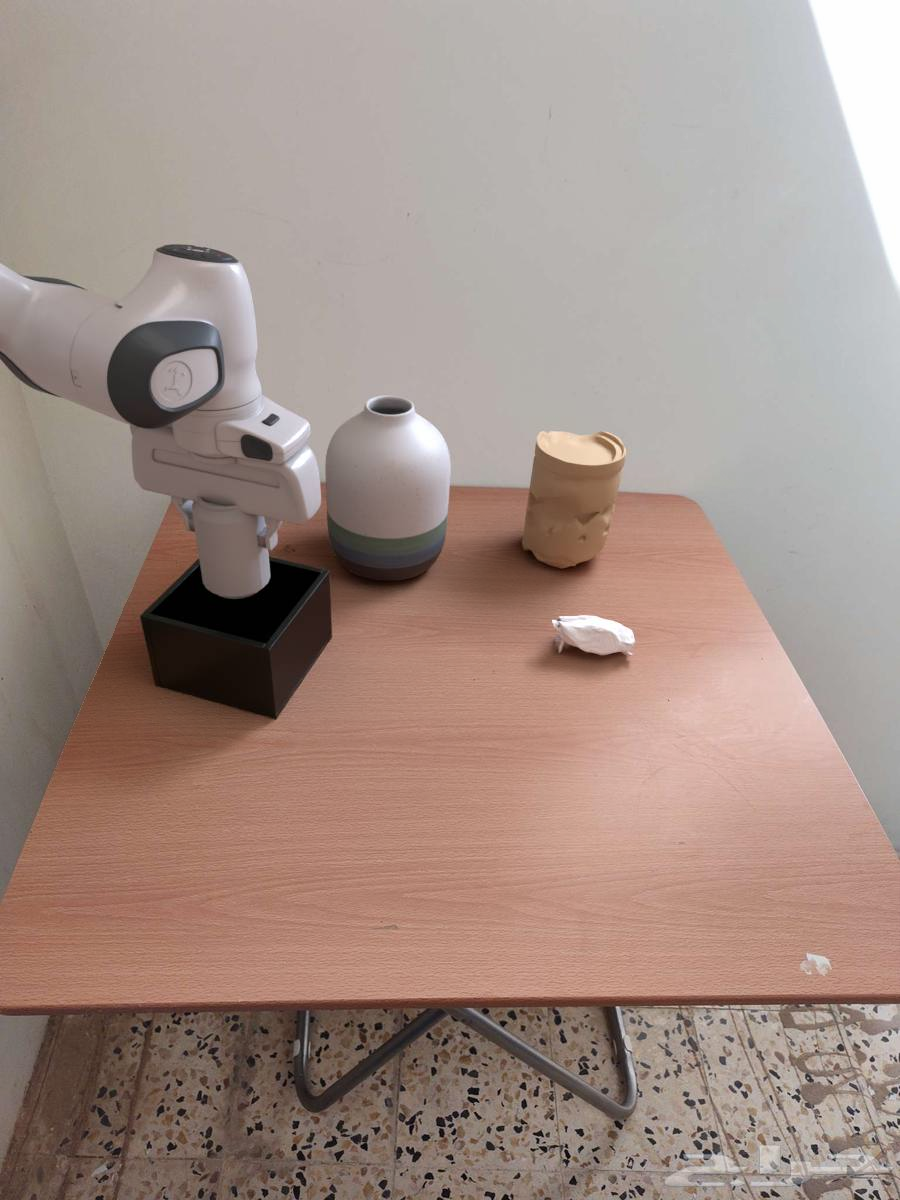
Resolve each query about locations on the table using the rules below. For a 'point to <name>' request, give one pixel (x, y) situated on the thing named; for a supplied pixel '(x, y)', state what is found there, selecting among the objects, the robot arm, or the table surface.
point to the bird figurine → (594, 634)
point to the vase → (387, 491)
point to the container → (572, 495)
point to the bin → (240, 637)
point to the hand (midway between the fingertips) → (232, 537)
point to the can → (230, 550)
